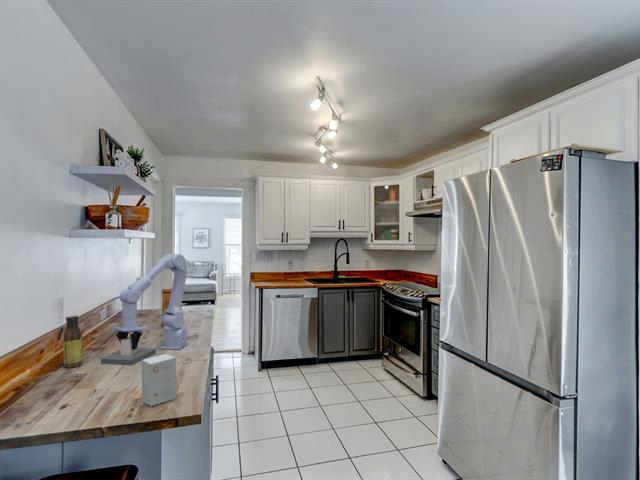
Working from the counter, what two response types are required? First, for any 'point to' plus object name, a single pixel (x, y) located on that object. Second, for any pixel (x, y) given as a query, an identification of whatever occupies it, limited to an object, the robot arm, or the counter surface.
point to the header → (128, 357)
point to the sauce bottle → (72, 343)
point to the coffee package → (165, 300)
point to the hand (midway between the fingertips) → (129, 349)
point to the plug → (127, 347)
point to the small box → (158, 379)
